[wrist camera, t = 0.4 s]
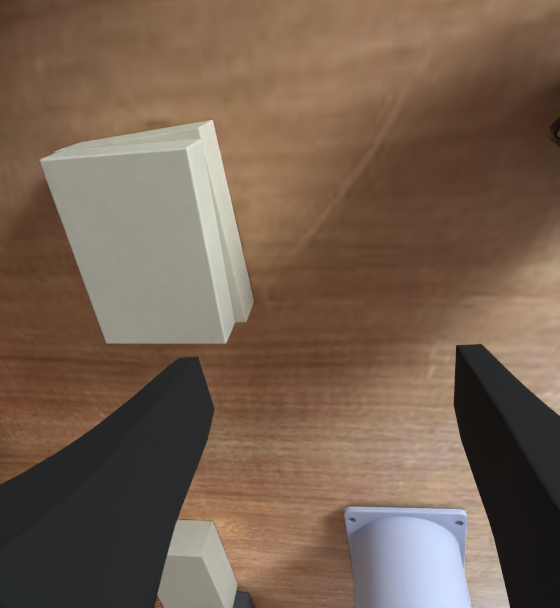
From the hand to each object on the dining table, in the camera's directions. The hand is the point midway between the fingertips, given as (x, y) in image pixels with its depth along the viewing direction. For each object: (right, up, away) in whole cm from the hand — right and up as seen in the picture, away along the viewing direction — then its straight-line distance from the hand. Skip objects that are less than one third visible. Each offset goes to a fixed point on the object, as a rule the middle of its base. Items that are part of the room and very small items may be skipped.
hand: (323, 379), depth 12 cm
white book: (-8, -19, +24) cm, 32 cm away
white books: (-7, +6, +9) cm, 13 cm away
